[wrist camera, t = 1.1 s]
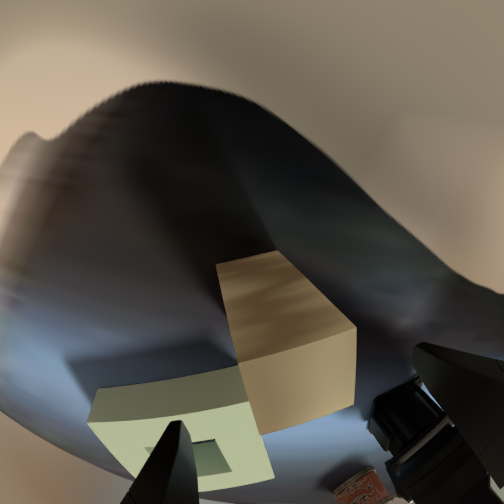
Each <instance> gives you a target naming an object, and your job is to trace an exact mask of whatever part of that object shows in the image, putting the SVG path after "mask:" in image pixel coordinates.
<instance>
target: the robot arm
mask: <svg viewBox="0 0 504 504" xmlns="http://www.w3.org/2000/svg"><path fill="white" fill-rule="evenodd" d="M412 365H413V367H414V369H415V370H416V372H417V373H418V375H419V376H418V377H417V378H415V379H413V380H411V381H409V382H407V383H405V384H403V385H402V386H400V387H398V388H396V389H394V390H392V391H390V392H388V393H386V394H383V395H381V396H379V397H377V398H376V399H375V400H374V402H373V409H372V415H371V419H370V424H369V432H370V433H371V434H373V435H374V437H375V438H376V440H377V441H378V443H379V444H380V445H381V447H382V448H383V450H384V451H390V452H391V454H392V455H393V456H394V457H392V458H391V459H390V460H387V461H386V462H385V465H386V470H387V472H388V474H389V476H390V478H391V480H392V482H393V484H394V487H395V491H396V494H397V496H398V498H404V499H405V500H406V501H407V502H409V503H411V504H413V503H415V504H504V501H503V500H502V499H501V498H500V497H499V496H498V494H497V493H496V492H495V491H494V490H493V488H492V487H491V486H490V476H491V477H492V478H493V480H494V481H495V483H496V484H497V486H498V487H499V488H500V489H501V488H502V487H503V486H504V361H502V360H498V359H496V360H495V359H493V358H489V357H484V356H480V355H476V354H471V353H467V352H463V351H459V350H455V349H451V348H447V347H443V346H439V345H435V344H431V343H427V342H421V343H419V344H417V345H415V347H414V350H413V356H412ZM422 382H423V383H424V385H425V386H426V388H427V389H428V391H429V392H430V394H431V395H432V397H433V398H434V399H435V400H436V402H437V403H438V404H439V406H440V407H441V408H442V409H443V410H442V409H441V408H440V407H439V406H438V405H437V404H436V403H435V402H434V401H433V400H432V399H431V398H430V397H429V396H428V395H427V394H426V393H425V392H424V391H423V390H422V389H421V386H422ZM453 424H454V425H455V426H454V427H452V425H453ZM120 504H199V492H198V477H197V469H196V464H195V458H194V452H193V447H192V441H191V436H190V433H189V431H188V430H187V428H186V426H185V424H184V423H183V421H182V420H175V421H171V422H169V424H168V426H167V427H166V429H165V431H164V432H163V434H162V436H161V437H160V439H159V441H158V442H157V444H156V446H155V447H154V449H153V451H152V452H151V454H150V456H149V457H148V459H147V461H146V462H145V464H144V466H143V467H142V469H141V471H140V472H139V474H138V475H137V477H136V479H135V480H134V482H133V484H132V485H131V487H130V489H129V491H128V492H127V493H126V495H125V497H124V498H123V500H122V501H121V503H120Z"/></svg>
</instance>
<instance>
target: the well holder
mask: <svg viewBox="0 0 504 504" xmlns="http://www.w3.org/2000/svg"><path fill="white" fill-rule="evenodd" d="M175 420H182V421H183V423H184V424H185V426H186V428H187V430H188V431H189V433H190V436H191V441H192V442H198V441H204V440H210V439H215V441H211V442H205V443H199V444H192V447H193V452H194V458H195V464H196V469H197V477H198V492H202V491H210V490H218V489H224V488H230V487H236V486H241V485H247V484H251V483H256V482H260V481H265V480H269V479H273V478H275V477H274V474H273V470H272V467H271V464H270V461H269V457H268V454H267V451H266V448H265V444H264V441H263V438H262V435H259V432H258V429H257V426H256V422H255V419H254V416H253V413H252V409H251V406H250V403H249V399H248V396H247V393H246V389H245V386H244V382H243V379H242V375H241V372H240V368H239V365H237V366H233V367H228V368H224V369H220V370H215V371H210V372H206V373H201V374H196V375H190V376H185V377H180V378H174V379H168V380H162V381H156V382H149V383H142V384H135V385H127V386H118V387H109V388H98V390H97V393H96V396H95V399H94V401H93V404H92V407H91V410H90V413H89V416H88V420H87V424H88V425H89V426H90V428H91V429H92V430H93V432H94V433H95V434H96V435H97V437H98V438H99V439H100V440H101V441H102V443H103V444H104V445H105V446H106V447H107V448H108V450H109V451H110V452H111V453H112V454H113V455H114V456H115V458H116V459H117V460H118V461H119V462H120V463H121V464H122V465H123V466H124V467H125V468H126V469H127V470H128V471H129V472H130V473H131V474H132V475H133V476H134V477H135V478H136V477H137V475H138V474H139V472H140V471H141V469H142V467H143V466H144V464H145V462H146V461H147V459H148V457H149V456H150V454H151V452H152V451H153V449H154V447H155V446H156V444H157V442H158V441H159V439H160V437H161V436H162V434H163V432H164V431H165V429H166V427H167V426H168V424H169V422H171V421H175Z"/></svg>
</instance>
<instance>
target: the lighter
mask: <svg viewBox="0 0 504 504" xmlns="http://www.w3.org/2000/svg"><path fill="white" fill-rule="evenodd" d="M375 472H376V470H375V469H374V467H373V466H371V467H367V468H365V469H363V470H362V471H360V472H359V473H357V474H356V475H354V476H353V477H352V478H350V479H349V480H347V481H346V482H345V483H343V484H342V485H341V486H339V487H338V488H337V489H336V490H334V491H333V495H334V497H336V498H337V500H338V503H339V504H391V503H392V502H394V499H393V498H392V497H390V495H389V494H388V492H387V490H386V489H385V487H384V486H383V484H382V482H381V481H380V479H379V478H378V476H377V474H376V473H375Z"/></svg>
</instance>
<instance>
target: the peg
mask: <svg viewBox="0 0 504 504" xmlns="http://www.w3.org/2000/svg"><path fill="white" fill-rule="evenodd" d="M216 269H217V274H218V278H219V283H220V288H221V292H222V297H223V301H224V306H225V310H226V314H227V319H228V323H229V328H230V332H231V336H232V340H233V344H234V349H235V353H236V357H237V361H238V365H239V368H240V372H241V375H242V379H243V382H244V386H245V389H246V393H247V396H248V399H249V403H250V406H251V409H252V413H253V416H254V419H255V422H256V426H257V429H258V432H259V435H264V434H268V433H271V432H275V431H279V430H282V429H286V428H289V427H292V426H296V425H299V424H302V423H305V422H308V421H311V420H314V419H317V418H320V417H323V416H325V415H328V414H331V413H334V412H336V411H339V410H341V409H344V408H346V407H349V406H351V405H354V394H355V376H356V343H357V327H356V326H355V325H354V324H353V323H352V322H351V321H350V320H349V319H348V318H347V317H346V316H345V315H344V314H343V313H342V312H341V311H340V310H339V309H338V308H336V307H335V306H334V305H333V304H332V303H331V302H330V301H329V300H328V299H327V298H326V297H325V296H324V295H323V294H322V293H321V292H320V291H319V290H318V289H317V288H316V287H315V286H314V285H313V284H312V283H311V282H310V281H309V280H308V279H307V278H306V277H305V276H304V275H303V274H302V273H301V272H300V271H299V270H298V269H296V268H295V267H294V266H293V265H292V264H291V263H290V262H289V261H288V260H287V259H286V258H285V257H284V256H283V255H282V254H281V253H280V252H279V251H278V250H276V251H272V252H267V253H263V254H259V255H255V256H250V257H246V258H242V259H238V260H233V261H229V262H225V263H220V264H216Z"/></svg>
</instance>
